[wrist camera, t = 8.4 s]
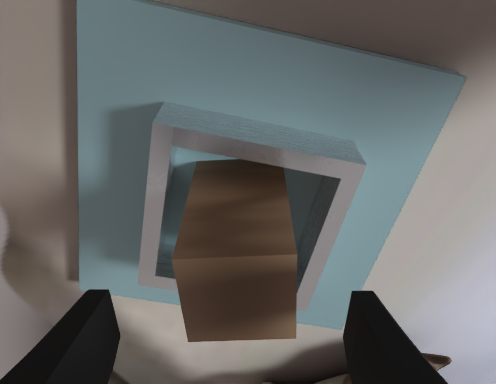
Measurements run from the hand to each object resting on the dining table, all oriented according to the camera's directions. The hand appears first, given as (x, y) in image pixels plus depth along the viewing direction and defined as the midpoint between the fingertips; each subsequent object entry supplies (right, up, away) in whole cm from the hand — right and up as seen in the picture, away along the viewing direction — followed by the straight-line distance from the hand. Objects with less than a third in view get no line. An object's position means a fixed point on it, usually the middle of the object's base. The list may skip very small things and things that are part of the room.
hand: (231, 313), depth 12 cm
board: (0, +4, +9) cm, 9 cm away
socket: (0, +4, +9) cm, 9 cm away
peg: (0, +3, +8) cm, 8 cm away
